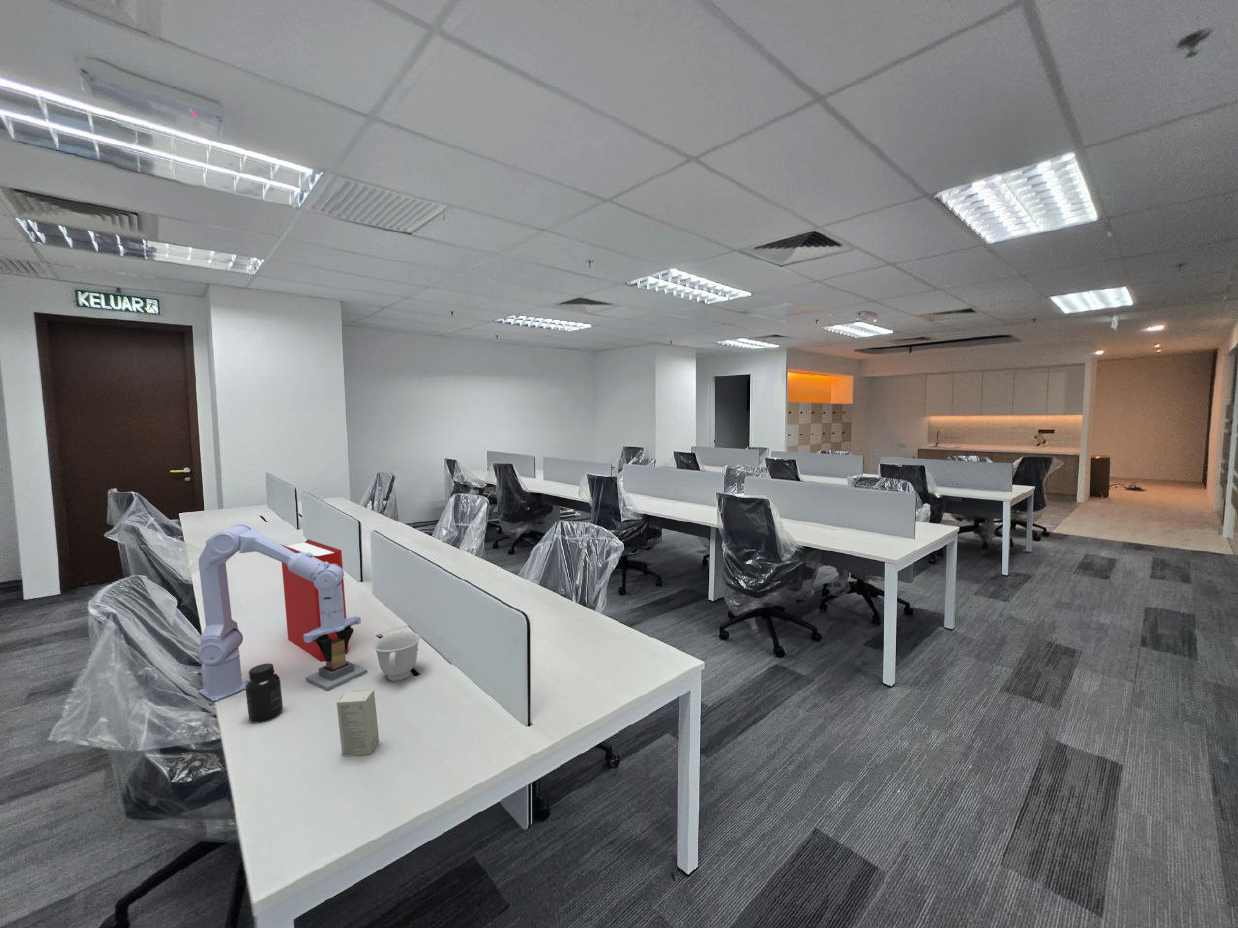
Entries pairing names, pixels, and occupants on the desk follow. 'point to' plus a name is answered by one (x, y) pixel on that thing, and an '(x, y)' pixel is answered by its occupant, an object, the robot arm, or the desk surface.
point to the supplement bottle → (263, 693)
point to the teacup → (397, 654)
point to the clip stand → (335, 675)
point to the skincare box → (358, 722)
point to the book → (307, 597)
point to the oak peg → (337, 654)
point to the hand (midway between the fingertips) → (335, 657)
